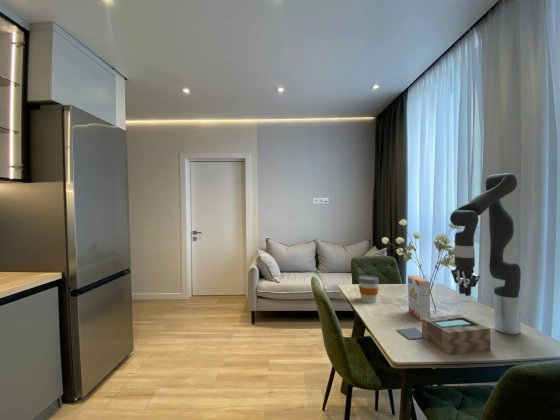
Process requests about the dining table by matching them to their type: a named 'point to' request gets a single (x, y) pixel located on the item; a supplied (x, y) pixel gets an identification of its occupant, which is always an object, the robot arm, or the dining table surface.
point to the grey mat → (411, 333)
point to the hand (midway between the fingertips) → (464, 294)
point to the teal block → (453, 324)
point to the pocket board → (456, 335)
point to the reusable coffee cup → (368, 288)
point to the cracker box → (419, 296)
